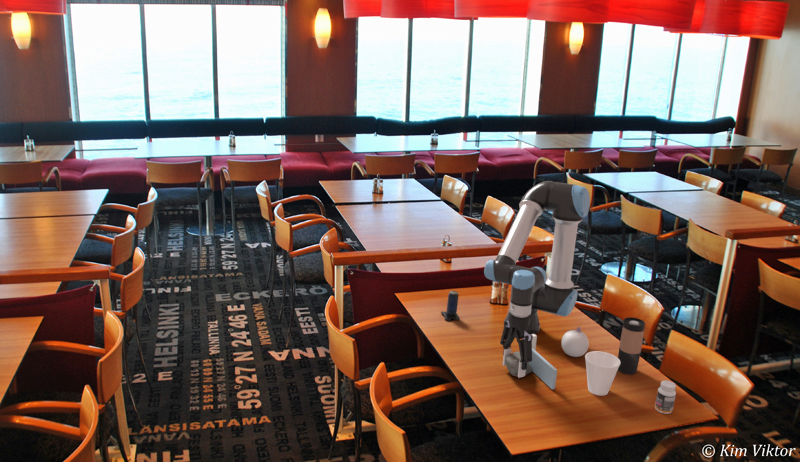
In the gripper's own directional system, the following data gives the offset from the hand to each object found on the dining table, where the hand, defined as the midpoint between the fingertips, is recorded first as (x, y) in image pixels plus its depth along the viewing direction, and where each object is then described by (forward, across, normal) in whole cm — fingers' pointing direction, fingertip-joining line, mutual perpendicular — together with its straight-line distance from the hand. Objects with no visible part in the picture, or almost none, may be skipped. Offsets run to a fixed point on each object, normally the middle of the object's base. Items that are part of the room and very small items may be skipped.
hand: (513, 370), depth 228 cm
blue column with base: (+3, -53, +5) cm, 53 cm away
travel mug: (+2, +13, +43) cm, 45 cm away
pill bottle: (+2, +38, +34) cm, 51 cm away
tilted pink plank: (+2, -8, +13) cm, 16 cm away
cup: (+2, +20, +22) cm, 30 cm away
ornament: (+2, -4, +32) cm, 32 cm away
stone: (+1, -1, +3) cm, 3 cm away
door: (+2, +3, +9) cm, 10 cm away
